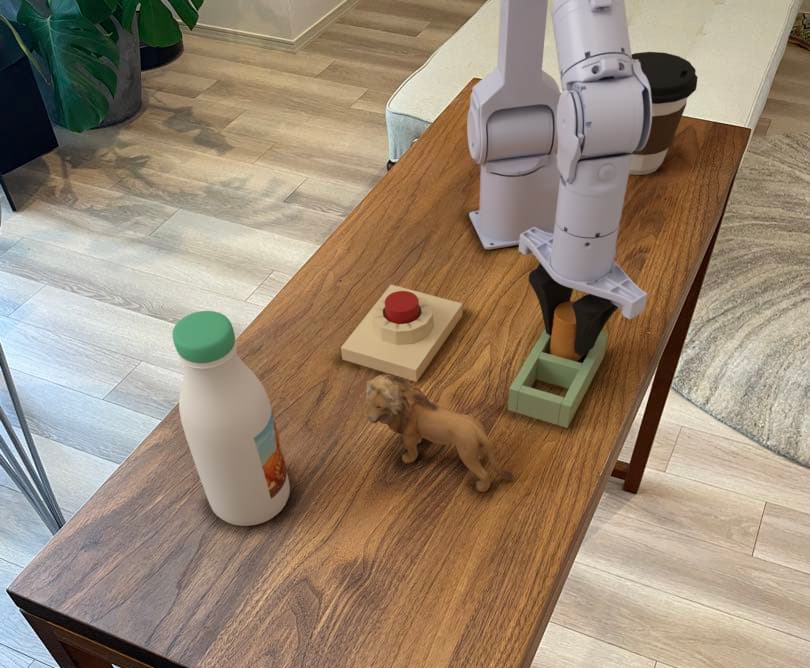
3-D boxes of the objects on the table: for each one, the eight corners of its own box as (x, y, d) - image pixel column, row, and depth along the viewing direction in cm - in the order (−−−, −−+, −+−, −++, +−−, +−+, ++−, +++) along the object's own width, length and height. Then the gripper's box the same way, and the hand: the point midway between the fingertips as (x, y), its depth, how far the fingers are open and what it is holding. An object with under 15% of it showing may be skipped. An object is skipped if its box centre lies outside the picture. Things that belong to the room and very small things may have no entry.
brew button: (394, 300, 91) (394, 287, 90) (424, 309, 90) (424, 295, 89) (379, 320, 89) (378, 306, 88) (410, 328, 88) (409, 315, 87)
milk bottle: (257, 541, 76) (207, 374, 60) (193, 508, 78) (128, 340, 63) (307, 485, 80) (272, 314, 64) (244, 456, 82) (195, 285, 66)
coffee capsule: (546, 360, 86) (551, 320, 82) (552, 337, 88) (557, 298, 84) (581, 365, 85) (588, 325, 81) (586, 342, 87) (593, 303, 83)
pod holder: (604, 356, 89) (608, 333, 87) (567, 428, 83) (570, 406, 80) (547, 340, 91) (550, 318, 88) (507, 410, 85) (509, 388, 82)
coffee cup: (687, 151, 113) (709, 57, 104) (666, 191, 107) (687, 96, 98) (609, 136, 116) (623, 44, 107) (584, 175, 111) (597, 81, 101)
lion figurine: (360, 462, 81) (352, 394, 74) (381, 425, 84) (375, 356, 77) (505, 500, 77) (511, 432, 70) (521, 460, 80) (528, 391, 73)
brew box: (391, 296, 97) (389, 270, 94) (462, 315, 94) (462, 289, 91) (342, 359, 90) (338, 334, 88) (416, 382, 88) (415, 356, 85)
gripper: (680, 236, 72) (650, 357, 83) (560, 172, 79) (546, 291, 90) (626, 269, 70) (602, 390, 81) (506, 200, 77) (499, 319, 88)
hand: (569, 340), depth 85 cm, fingers closed on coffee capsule, 3 cm apart
